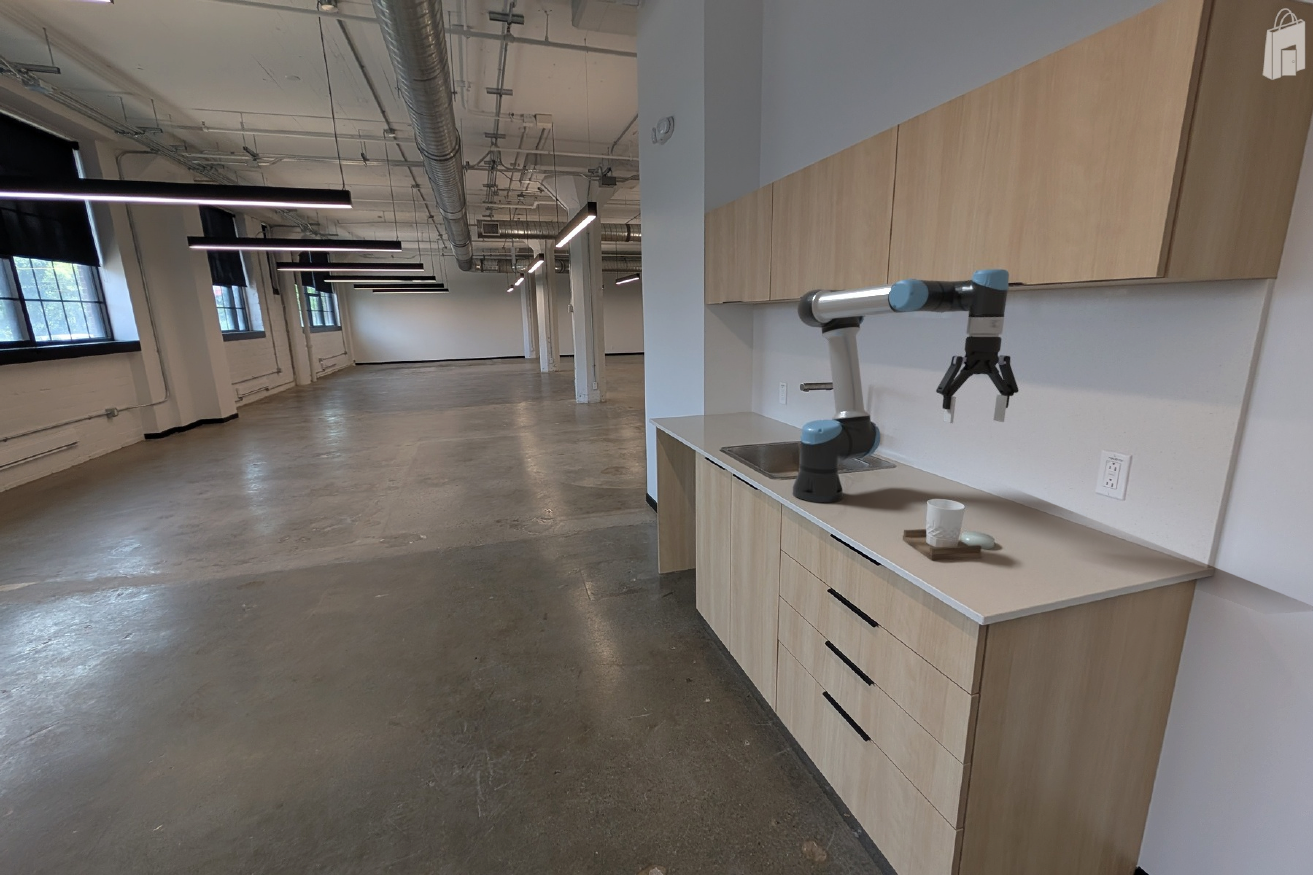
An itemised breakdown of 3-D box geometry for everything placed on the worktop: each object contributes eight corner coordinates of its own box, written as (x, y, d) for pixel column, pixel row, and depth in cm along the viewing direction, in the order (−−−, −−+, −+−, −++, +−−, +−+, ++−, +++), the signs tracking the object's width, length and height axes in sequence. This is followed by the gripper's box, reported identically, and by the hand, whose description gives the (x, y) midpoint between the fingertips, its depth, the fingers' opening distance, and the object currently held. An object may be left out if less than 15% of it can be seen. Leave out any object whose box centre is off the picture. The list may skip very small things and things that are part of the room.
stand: (902, 539, 135) (903, 529, 134) (947, 537, 136) (948, 527, 135) (931, 560, 123) (932, 549, 122) (980, 557, 124) (981, 546, 124)
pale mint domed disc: (954, 539, 136) (955, 532, 135) (980, 538, 136) (981, 530, 136) (973, 550, 129) (974, 543, 128) (1000, 549, 130) (1001, 541, 129)
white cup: (931, 534, 135) (935, 496, 133) (965, 544, 129) (970, 504, 127) (917, 543, 130) (921, 503, 128) (952, 553, 124) (957, 512, 122)
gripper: (945, 336, 126) (935, 425, 131) (1043, 335, 129) (1031, 423, 133) (926, 335, 134) (918, 420, 138) (1019, 335, 136) (1008, 418, 141)
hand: (973, 421), depth 136 cm, fingers open, 13 cm apart
